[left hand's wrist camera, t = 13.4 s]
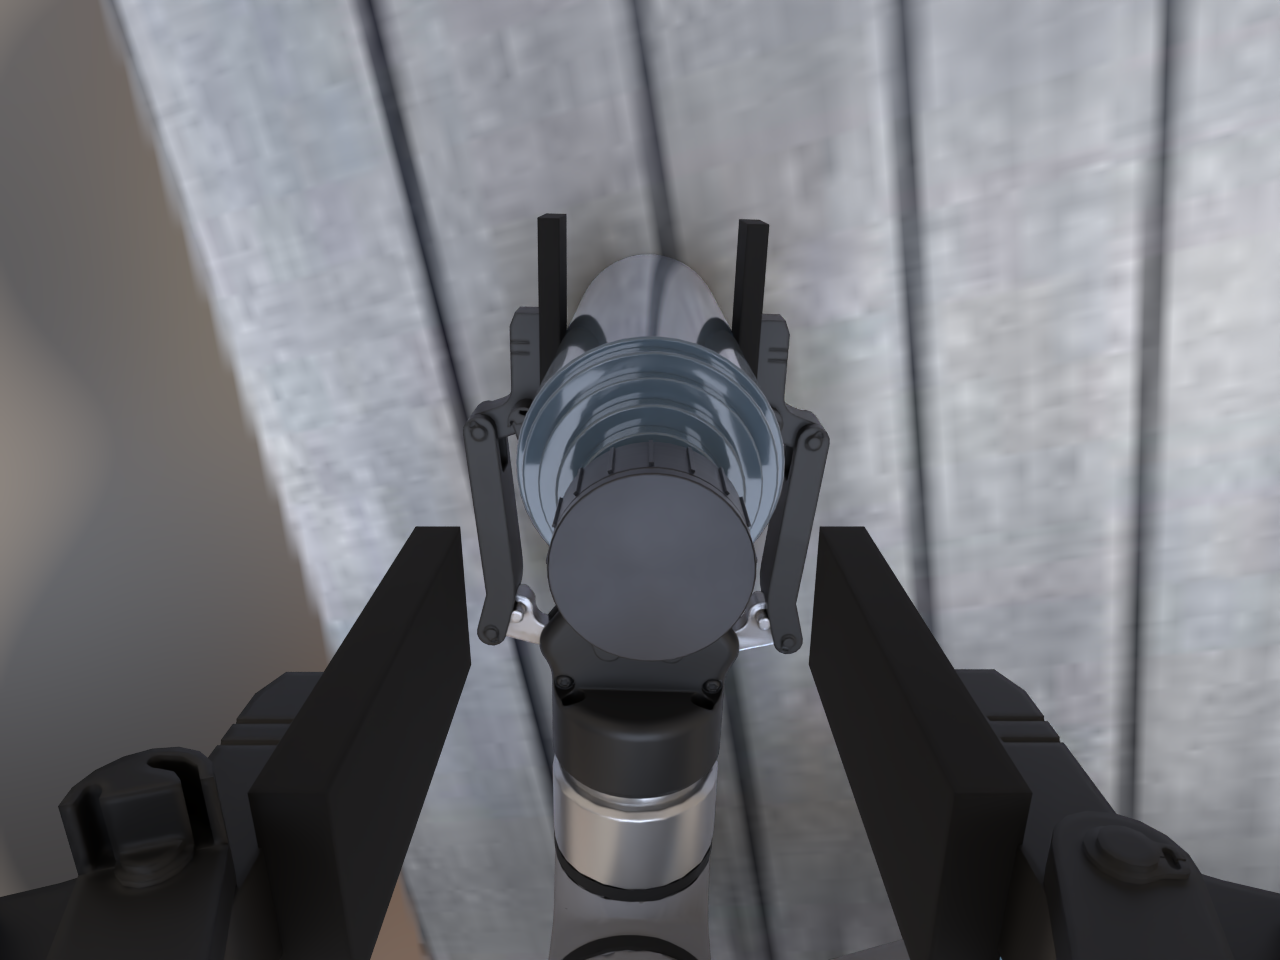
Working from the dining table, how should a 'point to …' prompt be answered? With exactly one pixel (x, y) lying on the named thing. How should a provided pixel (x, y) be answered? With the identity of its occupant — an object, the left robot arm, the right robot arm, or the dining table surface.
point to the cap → (651, 552)
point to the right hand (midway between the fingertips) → (652, 219)
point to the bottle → (649, 390)
